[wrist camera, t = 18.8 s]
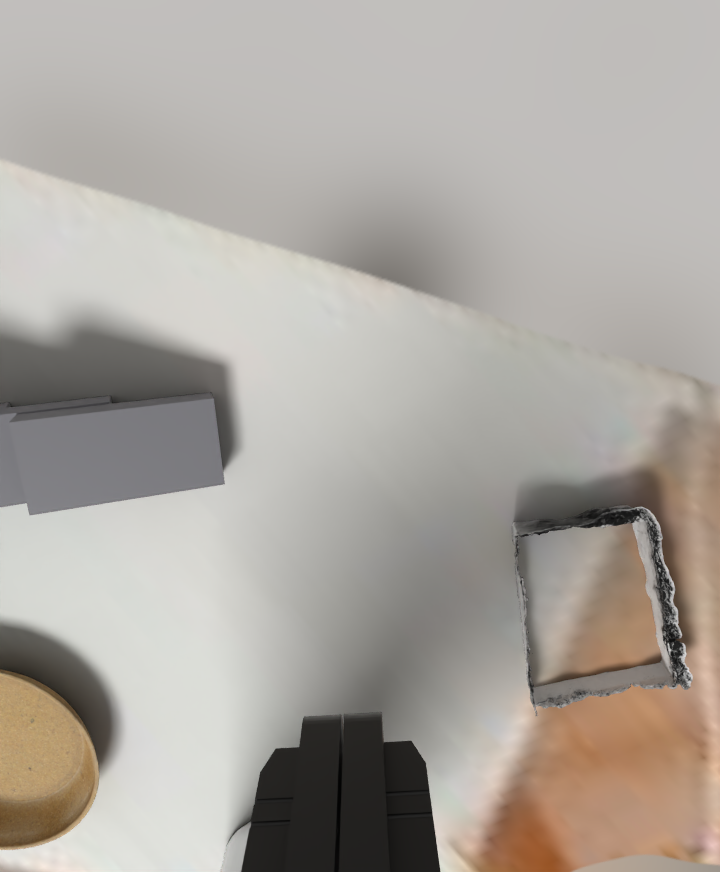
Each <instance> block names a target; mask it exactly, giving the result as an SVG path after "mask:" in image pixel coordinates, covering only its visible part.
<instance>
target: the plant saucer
mask: <svg viewBox="0 0 720 872" xmlns="http://www.w3.org/2000/svg"><path fill="white" fill-rule="evenodd" d="M98 783H99V766H98V760H97V756H96V751H95V748H94V745H93V742H92V739H91V737H90V734H89V732H88V730H87V728H86V727H85V725H84V723H83V721H82V720H81V719H80V717H79V716H78V714H77V713H76V712H75V710H74V709H73V708H72V707H71V706H70V705H69V704H68V703H67V702H66V701H65V700H64V699H63V698H62V697H61V696H60V695H59V694H58V693H56V692H55V691H53V690H52V689H51V688H49V687H47V686H46V685H44V684H42V683H40V682H38V681H36V680H34V679H32V678H30V677H27V676H25V675H21V674H18V673H14V672H11V671H6V670H1V669H0V850H16V849H25V848H30V847H35V846H39V845H42V844H45V843H48V842H50V841H53V840H56V839H57V838H59V837H61V836H63V835H65V834H66V833H68V832H69V831H70V830H72V829H73V828H74V827H75V826H76V825H77V824H78V823H80V821H81V820H82V819H83V818H84V817H85V815H86V814H87V812H88V811H89V809H90V808H91V806H92V804H93V801H94V799H95V796H96V793H97V789H98Z"/></svg>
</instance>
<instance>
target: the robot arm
mask: <svg viewBox="0 0 720 872" xmlns="http://www.w3.org/2000/svg"><path fill="white" fill-rule="evenodd" d="M220 872H440V866H439V859H438V851H437V844H436V836H435V829H434V822H433V816H432V807H431V799H430V793H429V784H428V777H427V770H426V763H425V761H424V760H423V758H422V757H421V755H420V754H419V752H418V750H417V749H416V747H415V746H414V744H413V743H412V741H401V742H384V739H383V724H382V712H376V713H358V714H345V715H344V729H343V719H342V715H326V716H309V717H304V718H303V723H302V731H301V739H300V747H297V748H279V749H275V751H274V752H273V754H272V755H271V757H270V759H269V760H268V762H267V763H266V765H265V766H264V768H263V769H262V771H261V772H260V777H259V782H258V787H257V792H256V797H255V805H254V808H253V813H252V818H251V822H249V823H248V824H246V825H244V826H243V827H241V828H240V829H239V830H238V831H237V832H236V833H235V834H234V835H233V836H232V837H231V839H230V841H229V843H228V844H227V847H226V851H225V855H224V859H223V863H222V867H221V871H220Z"/></svg>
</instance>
